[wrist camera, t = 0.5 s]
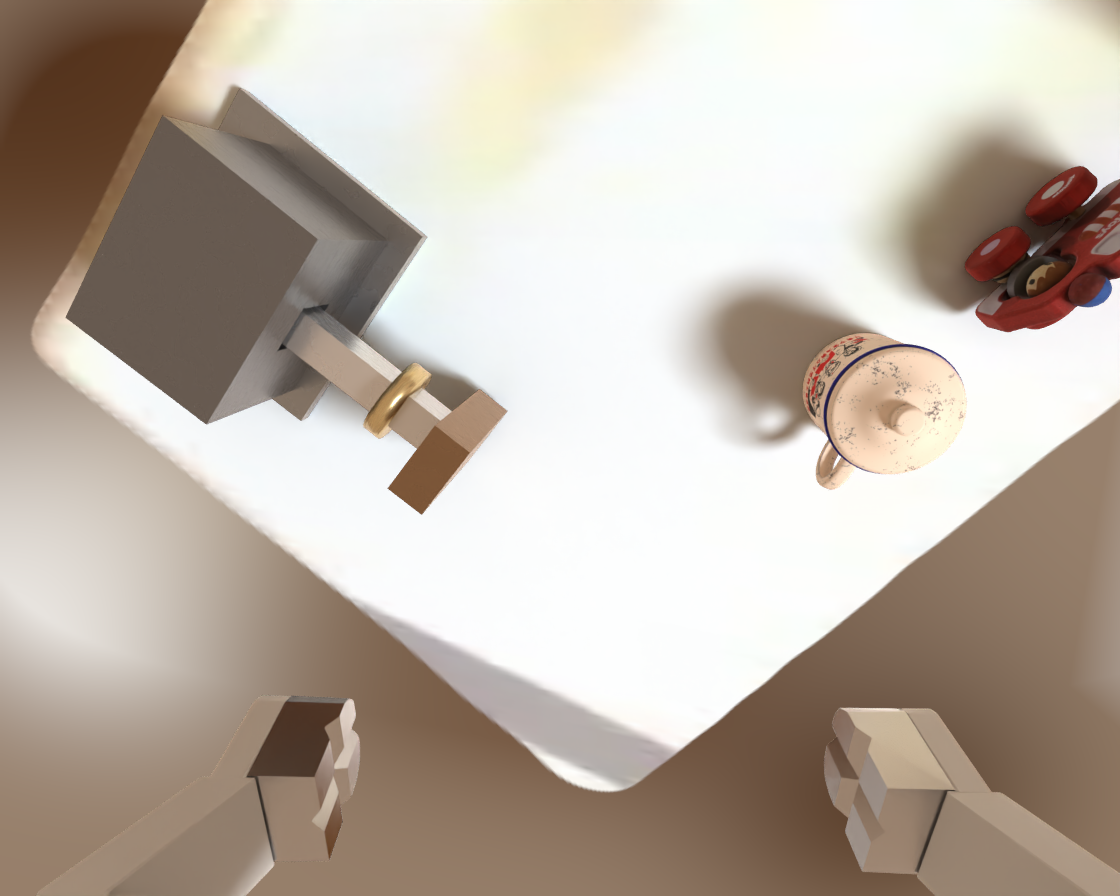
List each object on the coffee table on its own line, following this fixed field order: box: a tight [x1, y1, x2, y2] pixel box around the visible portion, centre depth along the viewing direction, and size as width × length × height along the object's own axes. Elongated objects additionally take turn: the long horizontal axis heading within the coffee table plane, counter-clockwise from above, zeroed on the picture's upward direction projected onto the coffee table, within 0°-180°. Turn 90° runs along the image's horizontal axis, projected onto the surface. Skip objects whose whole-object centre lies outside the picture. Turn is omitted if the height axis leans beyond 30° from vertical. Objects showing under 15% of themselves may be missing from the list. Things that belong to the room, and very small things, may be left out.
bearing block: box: [66, 89, 427, 424], centre depth 50 cm, size 18×20×13 cm
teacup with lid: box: [803, 333, 967, 490], centre depth 48 cm, size 12×9×12 cm
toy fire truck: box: [965, 166, 1120, 332], centre depth 44 cm, size 7×12×10 cm, turn 139°
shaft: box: [282, 306, 507, 515], centre depth 50 cm, size 21×6×12 cm, turn 52°
